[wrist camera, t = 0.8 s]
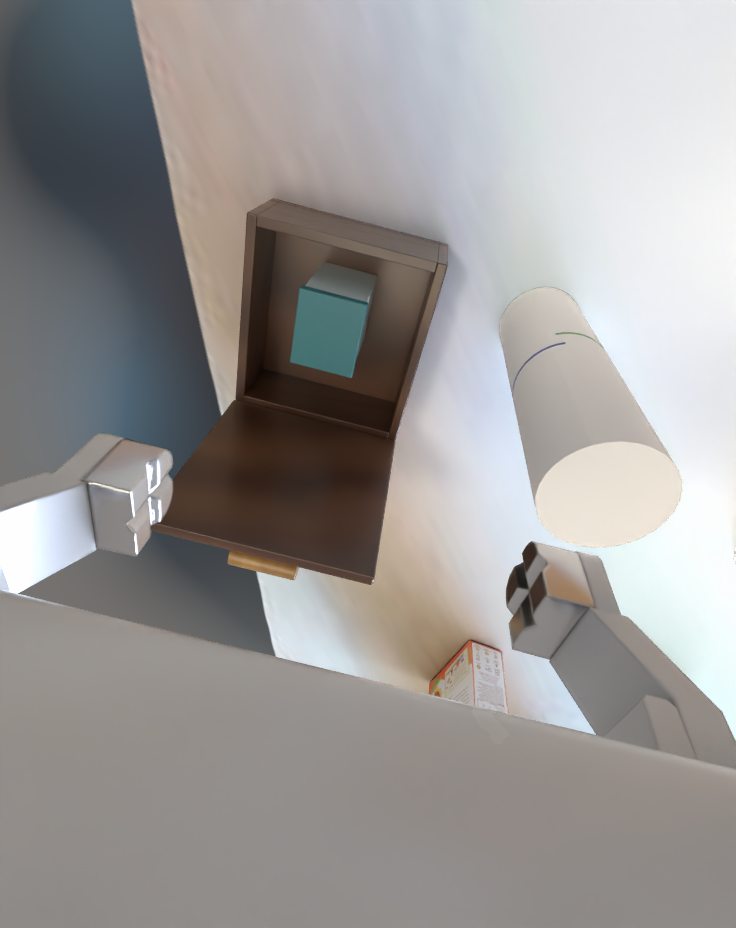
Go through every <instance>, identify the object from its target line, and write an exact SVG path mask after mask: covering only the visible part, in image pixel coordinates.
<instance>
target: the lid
mask: <svg viewBox="0 0 736 928" xmlns="http://www.w3.org/2000/svg"><path fill="white" fill-rule="evenodd" d="M394 448H395V441H393V440H389V439H385V438H381V437H377V436H373V435H369V434H366V433H362V432H358V431H354V430H350V429H346V428H342V427H338V426H334V425H330V424H326V423H322V422H318V421H315V420H311V419H307V418H303V417H299V416H295V415H291V414H287V413H283V412H279V411H275V410H271V409H267V408H264V407H260V406H256V405H252V404H248V403H244V402H240V401H236V400H234V401H233V402H232V403H231V405H230V406H229V407H228V409H227V410H226V411H225V412H224V414H223V415H222V416H221V418H220V419H219V420H218V422H217V423H216V424H215V426H214V427H213V428H212V429H211V431H210V432H209V434H208V435H207V436H206V437H205V439H204V440H203V441H202V442H201V444H200V445H199V446H198V448H197V449H196V450H195V452H194V453H193V454H192V456H191V457H190V458H189V459H188V461H187V462H186V463H185V465H184V466H183V467H182V469H181V470H180V471H179V473H178V474H177V475H176V476H175V478H174V479H173V496H172V501H171V503H170V506H169V509H168V511H167V513H166V514H165V516H164V517H163V519H162V520H161V521H160V522H158V523H156V524H153V525H151V530H152V531H156V532H160V533H164V534H168V535H172V536H177V537H181V538H184V539H188V540H193V541H196V542H201V543H204V544H209V545H212V546H217V547H221V548H225V549H228V550H230V552H229V556H228V564H230V565H234V566H238V567H242V568H246V569H250V570H254V571H258V572H262V573H266V574H270V575H274V576H278V577H282V578H286V579H290V580H295V578H296V575H297V572H298V568H299V567H301V568H305V569H309V570H313V571H317V572H321V573H325V574H329V575H333V576H337V577H341V578H345V579H349V580H353V581H357V582H361V583H365V584H369V585H372V584H373V581H374V578H375V571H376V565H377V558H378V552H379V545H380V539H381V532H382V526H383V519H384V513H385V506H386V500H387V493H388V487H389V480H390V474H391V467H392V461H393V454H394Z"/></svg>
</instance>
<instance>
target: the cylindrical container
mask: <svg viewBox="0 0 736 928" xmlns="http://www.w3.org/2000/svg"><path fill="white" fill-rule="evenodd" d="M499 331H500V339H501V343H502V348H503V353H504V358H505V362H506V367H507V372H508V377H509V382H510V387H511V392H512V397H513V402H514V406H515V411H516V416H517V421H518V425H519V430H520V435H521V440H522V444H523V449H524V454H525V459H526V464H527V469H528V474H529V479H530V484H531V488H532V493H533V498H534V503H535V508H536V512H537V516H538V518H539V520H540V522H541V523H542V525H543V526H544V527H545V528H546V529H547V530H548V531H549V532H550V533H551V534H553V535H554V536H555V537H557V538H559V539H561V540H563V541H565V542H567V543H571V544H575V545H578V546H584V547H611V546H618V545H622V544H626V543H629V542H632V541H635V540H637V539H640V538H642V537H644V536H646V535H648V534H649V533H651V532H653V531H655V530H656V529H657V528H658V527H660V526H661V525H662V524H663V523H665V522H666V521H667V519H668V518H669V517H670V516H671V515H672V513H673V512H674V511H675V509H676V507H677V505H678V503H679V501H680V497H681V493H682V479H681V476H680V473H679V470H678V469H677V467H676V465H675V464H674V462H673V461H672V459H671V457H670V456H669V454H668V452H667V451H666V449H665V448H664V446H663V444H662V443H661V441H660V439H659V438H658V436H657V434H656V433H655V431H654V430H653V428H652V426H651V425H650V423H649V421H648V420H647V418H646V417H645V415H644V413H643V412H642V410H641V408H640V407H639V405H638V403H637V402H636V400H635V399H634V397H633V395H632V394H631V392H630V390H629V389H628V387H627V385H626V384H625V382H624V381H623V379H622V377H621V376H620V374H619V372H618V371H617V369H616V368H615V366H614V364H613V363H612V361H611V359H610V358H609V356H608V355H607V353H606V351H605V350H604V348H603V347H602V345H601V343H600V342H599V340H598V338H597V337H596V335H595V334H594V332H593V330H592V329H591V327H590V325H589V324H588V322H587V321H586V319H585V317H584V316H583V314H582V312H581V311H580V309H579V307H578V306H577V304H576V303H575V301H574V300H573V299H572V298H571V297H570V296H569V295H568V294H567V293H565V292H563V291H562V290H559V289H556V288H550V287H541V288H535V289H532V290H528V291H526V292H524V293H522V294H521V295H519V296H518V297H516V298H515V299H514V300H513V301H512V302H511V303H510V304H509V305H508V307H507V308H506V310H505V311H504V313H503V316H502V318H501V322H500V327H499Z"/></svg>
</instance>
